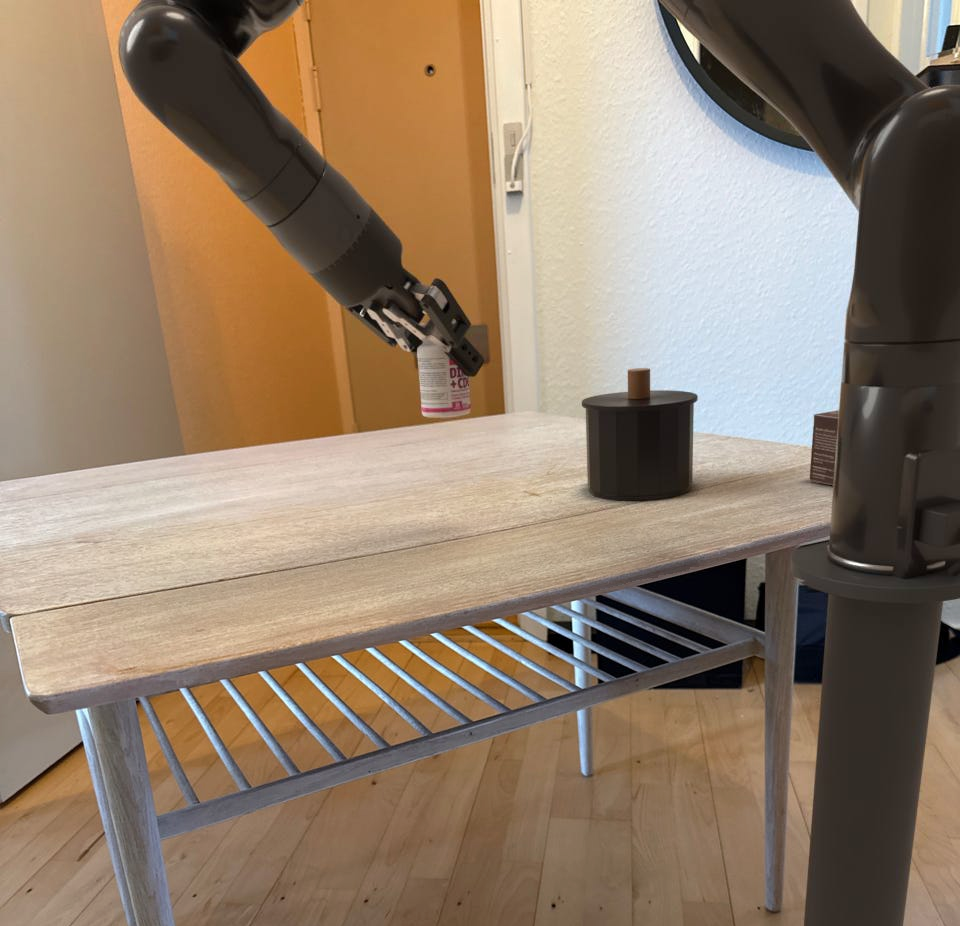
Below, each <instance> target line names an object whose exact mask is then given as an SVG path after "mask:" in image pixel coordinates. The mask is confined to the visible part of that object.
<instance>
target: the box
mask: <svg viewBox="0 0 960 926" xmlns="http://www.w3.org/2000/svg"><path fill="white" fill-rule="evenodd" d="M838 416H839V409H838V410H832V411H825V412H821V413H815V414H813V426H812V441H811V452H810V456H811V457H810V468H809V469H810V470H809V480H810V482H812V483H816V484H824V485H829V486H833V483H834V470H835V456H836V443H837V429H838Z"/></svg>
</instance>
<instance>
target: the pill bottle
mask: <svg viewBox="0 0 960 926" xmlns="http://www.w3.org/2000/svg"><path fill="white" fill-rule="evenodd" d="M424 324H425V322H422V323H421V322H420V323H419V325H420V326H424ZM434 329H435V332H437V333H438V334H439V335H440V336H442V335H441V333H440V332H439V331H438V329H437V328H436V326H435V328H434ZM442 337H443V336H442ZM420 340H422V341H423V343H422V344H421V345H420V346H419V347H418V349H417V357H416V359H417V358H418V359H417V369H418V378H419V379H418V380H419V391H420V408H421V410H420V411H421V414H422V416H423V417H424V418H431V419H436V418H437V419H446V418H447V419H448V418H457V417H461V416H465V415H469V414H470V413H471V411H472V405H471V403H472V401H471V387H470V386H471V385H470V377H468V376H466V375H465V374H464V373H463V372H462V371H461V369H460V368H459V367H458V366H457V365H456V364H455V363H454V362H453V361H452V360H451V359H450V358H449V357H448V356H447V355H446V353H445V351H443V350H442V349H440V348H439V347H438V346H437V345H436V344H434V343H433V342H432V341H431V340H429V339H428V338H426V339H420Z"/></svg>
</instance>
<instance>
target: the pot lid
mask: <svg viewBox="0 0 960 926" xmlns="http://www.w3.org/2000/svg"><path fill="white" fill-rule="evenodd" d="M698 397H699V396H698V394H697V393H695V392H692V391H684V390H667V389H665V390H663V389H661V390H660V389H659V390H656V389H655V390H654V389H653V390H652V389H651V368H649V367H638V368H630V369H627V391H619V392H611V393H603V394H598V395H592V396H589V397H585V398H584V399H582V400H581V406H582V408H583V409H585V410H586V409H591V410H599V411H644V410H658V409H667V408H674V407H680V406H685V405H689V404H692V403H694V404H695V403H696V402H697V401H698V400H699V399H698Z"/></svg>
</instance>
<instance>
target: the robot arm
mask: <svg viewBox="0 0 960 926" xmlns="http://www.w3.org/2000/svg"><path fill="white" fill-rule="evenodd" d="M306 1H307V0H140V1H139V3H137V4H136V5H135V7H134V8H133V9H132V11H131V12H130V13H129V14H128V15H127V16H126V18H125V21H124V22H123V24H122V26H121V28H120V31H119V36H118V42H117V48H118V50H117V51H118V59H119V64H120V68H121V70H122V73H123V75H124V77H125V79H126V81H127V83H128V85H129V88H130V89H131V91H132V92H133V94H134V95H135V97H136V98H137V99H138V101H139V102H140V103H141V104H142V105H143V106H144V107H145V108H146V110H147V111H148V112H149V113H150V114H152V116H153V117H155V118H156V119H157V120H158V121H159V122H160V123H161V124H162V125H163V126H164V127H165V128H166V129H167V130H168V131H169V132H171V134H173V135H174V137H176V138H177V139H178V140H179V141H180V142H181V143H182V144H184V145H185V147H187V148H188V149H189V150H190V151H191V152H192V153H194V154H195V155H196V156H197V157H198V158H200V160H202V161H203V162H204V163H205V164H206V165H208V166H209V167H210V168H211V169H212V170H214V171H215V172H216V174H217V175H218V176H219V178H220V179H221V180H222V181H223V183H224V184H225V185H226V186H227V187H228V188H229V190H230V191H231V192H232V193H233V194H234V195H235V197H237V199H239V201H240V202H241V203H242V204H243V205H244V206H245V207H246V208H247V209H248V210H249V211H250V212H251V213H252V214H253V215H254V216H255V217H256V218H257V219H258V220H259V221H260V222H261V223H262V224H263V225H265V227H266V228H267V229H268V230H269V231H270V232H271V234H272V236H274V237H275V239H276V240H277V242H278V243H279V245H280V246H282V248H283V249H284V250H285V251H286V252H287V253H288V255H290V256H291V257H292V258H293V259H294V260H295V261H296V262H297V263H298V264H299V265H300V266H301V268H303V270H305V271H306V272H307V273H308V275H310V276H311V277H312V279H314V281H316V282H317V283H318V285H320V286H321V287H322V288H323V290H324V291H325V292H327V294H329V295H330V297H331V298H333V299H334V301H336V303H338V304H339V305H341V306H342V307H344V309H346V311H347V312H348V313H349V314H351V315H352V316H353V317H355V318H356V319H357V320H358V321H359V322H361V323H362V324H363V325H364V326H365V327H366V328H367V329H369V330H370V331H372V333H374V334H375V335H376V336H377V337H378V338H380V339H381V340H382V341H383V342H385V343H386V345H388V346H389V347H392V348H396V347H397V345H399V348H401V349H402V350H403V351H405V352H407V353H411V354H412V355H413V356H415V358H416V359H417V360H418V358H417V349H418V347H419V346H420V345H421V344H422V343H423V341H422V340H420V339H426V338H428V339H429V340H431V341H432V342H433V343H434V344H436V345H437V346H438V347H439V348H440V349H442V350H443V351H445V353H446V355H447V356H448V357H449V358H450V359H451V360H452V361H453V362H454V363H455V364H456V365H457V366H458V367H459V368H460V369H461V371H462V372H463V373H464V374H465V375H466V376H468V377H469V378H473V377H476V376H477V375H478V373H479V371H480V370H481V368H482V366H484V362H485V359H484V357H483V355H482V354H481V353H480V351H478V349H477V348H476V347H475V346H474V345H473V344H472V343H471V342H470V341H469V340H468V338H466V334H467V333H468V331H469V330H470V328H471V326H472V323H471V321H470V319H469V317H468V316H467V315H466V313H465V311H464V310H463V309H462V307H461V306H460V304H459V302H458V301H457V300H456V298H455V296H454V294H453V292H451V290H450V289H449V287H448V285H447V284H446V283H445V282H444V281H443V280H442V279H440V278H437V277H435V278H433V280H432V281H431V283H430V285H426V284H423V283H422V282H421V280H419V279H418V277H416V276H415V275H414V274H413V273H411V272H410V271H408V269H406V268H405V267H404V266H403V263H402V262H403V261H402V257H403V256H402V255H403V243H402V241H401V239H400V238H399V236H397V234H396V233H395V232H394V230H392V229H391V227H390V226H389V225H388V224H387V223H386V222H385V221H384V220H383V218H382V217H381V216H380V215H379V214H378V213H377V212H376V210H374V208H373V207H372V206H371V205H370V204H369V203H368V202H367V200H366V199H365V198H364V197H363V196H362V194H361V193H360V192H359V191H358V189H356V188H355V187H354V186H353V184H352V183H351V182H350V181H349V180H348V179H347V178H346V177H345V176H344V175H342V173H340V171H338V170H337V169H336V168H335V167H334V166H332V165H331V164H330V163H329V162H328V161H327V160H326V159H325V158H324V156H323V155H322V154H321V153H320V152H319V151H318V149H317V148H316V147H315V146H314V145H313V144H312V143H311V142H310V141H309V139H308V138H307V137H306V136H305V135H304V134H303V133H302V131H301V130H300V129H299V128H298V127H297V126H296V125H295V124H294V123H293V121H291V120H290V119H289V118H288V117H287V116H286V115H285V114H284V113H283V112H281V111H280V110H279V109H277V108H276V107H275V105H273V103H272V101H270V99H269V98H268V96H267V95H266V94H265V93H264V91H263V90H262V88H260V86H259V84H258V83H257V82H256V81H255V80H254V79H253V77H252V76H251V74H250V73H249V72H248V71H247V69H246V68H245V67H244V66H243V64H242V63H241V62H240V61H239V59H240V58H241V57H242V55H244V53H245V52H246V51H247V50H248V49H249V48H250V47H252V45H253V44H254V43H255V41H257V40H258V39H259V38H260V37H261V36H262V35H264V34H266V33H269V32H272V31H274V30H276V29H277V28H279V27H280V26H281V25H283V24H284V23H286V21H288V20H289V19H290V18H291V17H293V15H294V14H295V13H296V12H297V11H298V10H299V7H302V5H303V4H304V3H305V2H306ZM658 1H659V3H661V4H662V6H664V8H665V9H666V10H667V11H668V12H669V13H670V14H671V15H672V16H673V17H674V18H675V20H677V21H678V22H679V23H680V24H681V26H682V27H684V29H685V30H686V31H687V32H688V33H690V35H691V36H693V37H694V38H695V39H696V40H697V41H698V42H699V43H700V44H701V45H702V46H703V47H705V49H706V50H708V52H710V53H711V54H712V56H714V57H715V58H716V59H717V60H718V61H719V62H720V63H721V64H722V65H724V67H726V68H727V69H728V70H729V71H730V72H731V73H732V74H734V76H736V77H737V78H738V79H739V80H740V81H741V82H743V83H744V84H745V85H746V86H747V87H749V89H751V90H752V91H753V92H755V93H756V94H757V95H758V96H759V97H761V98H762V99H763V100H764V101H765V102H767V103H768V104H769V105H770V106H772V107H773V108H774V109H775V110H776V111H777V112H778V113H779V114H781V116H783V117H784V118H785V119H786V120H787V121H788V122H789V123H790V125H792V127H794V128H795V130H796V131H797V132H798V134H799V135H800V136H801V137H802V138H803V140H805V141H806V143H807V144H808V145H809V146H810V148H811V149H812V150H813V152H814V153H815V154H816V156H817V157H818V158H819V159H820V161H821V162H822V163H823V165H824V166H825V167H826V168H827V170H828V171H829V173H830V174H831V175H832V177H833V178H834V179H835V181H836V182H837V184H838V185H839V186H840V188H841V189H842V190H843V192H844V194H845V195H846V196H847V198H848V199H849V200H850V202H851V204H852V205H853V207H854V208H855V210H856V211H857V212H858V219H857V230H856V243H855V255H854V256H855V257H854V268H853V276H852V280H851V281H852V282H851V288H850V293H849V297H848V301H847V306H846V310H845V312H846V313H845V324H844V335H843V338H844V341H843V352H842V365H841V379H840V380H841V381H840V391H839V392H840V393H839V404H838V405H839V406H838V410H839V416H838V429H837V443H836V456H835V470H834V483H833V485H832V495H831V496H832V499H831V514H830V527H829V528H830V529H829V539H828V540H829V545H828V549H827V558H828V560H829V561H830V562H832V563H833V564H835V565H837V566H840V567H842V568H845V569H849V570H852V571H857V572H862V573H868V574H876V575H887V576H894V577H898V578H901V579H910V578H914V577H918V576H922V575H926V574H931V573H935V572H939V571H943V570H947V569H948V573H949V574H950V575H951V576H957V575H958V574H959V573H960V84H943V85H937V86H933V87H930V86H928V85H927V84H925V82H923V81H922V80H921V79H920V78H919V77H917V76H916V75H915V74H914V73H913V72H911V70H909V69H908V68H907V67H906V66H905V65H904V64H903V63H902V62H901V61H900V60H899V59H898V58H897V57H895V55H894V54H893V53H891V52H890V51H889V50H888V49H887V48H886V46H884V45H883V43H882V42H881V41H880V40H879V39H878V38H877V37H876V36H875V35H874V33H873V32H872V30H870V28H869V27H868V26H867V25H866V23H865V21H864V20H863V19H862V17H861V15H860V14H859V13H858V11H857V9H856V7H855V5H854V3H853V1H852V0H658ZM425 315H427V316H428V318H427V319H426V321H425V322H424V323H425V324H424V326H420V325H419V324H420V323H421V322H422V320H423V319H424V317H425ZM435 326H436V328H437V329H438V331H439V332H440V333H441V335H442V336H443V337H442V336H440V335H439V334H438V333H437V332H435V329H434V328H435Z"/></svg>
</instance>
